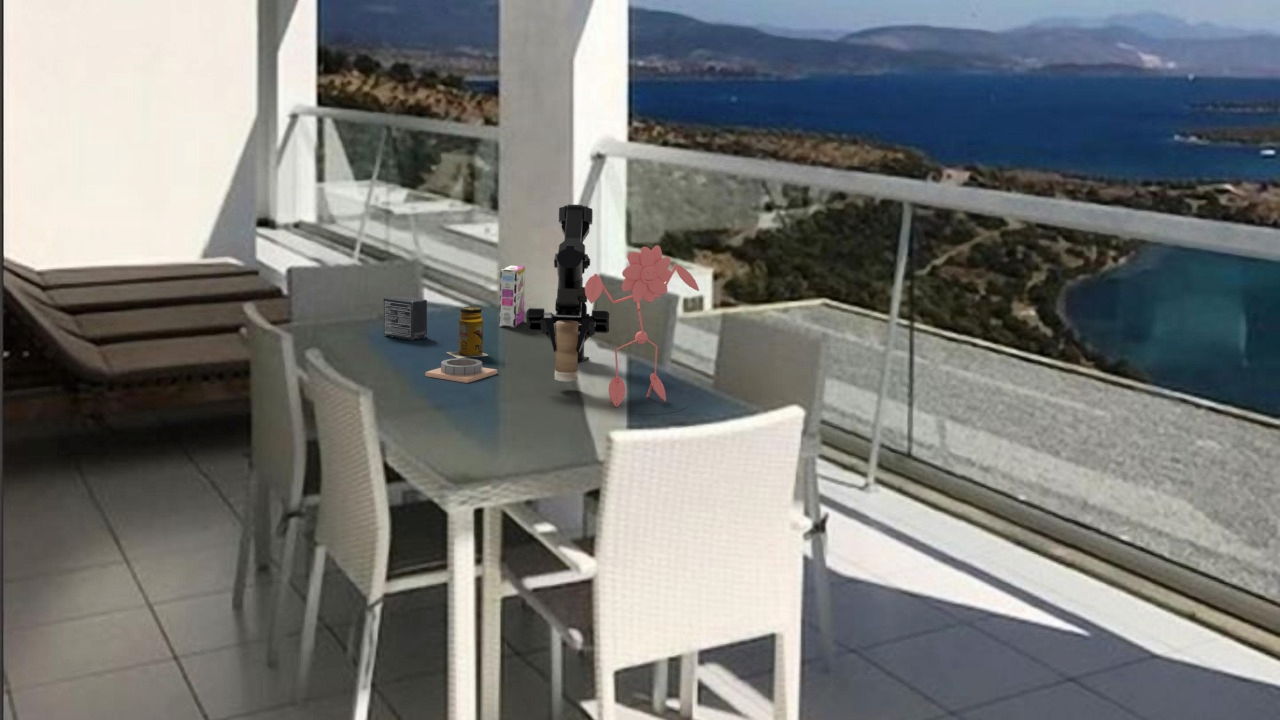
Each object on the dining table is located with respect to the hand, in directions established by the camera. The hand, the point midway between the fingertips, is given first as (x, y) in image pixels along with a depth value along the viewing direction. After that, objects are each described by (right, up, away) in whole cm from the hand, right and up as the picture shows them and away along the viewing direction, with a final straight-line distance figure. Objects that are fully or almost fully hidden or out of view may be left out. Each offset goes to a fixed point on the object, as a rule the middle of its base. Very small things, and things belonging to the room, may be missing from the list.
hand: (566, 351), depth 289 cm
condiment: (-27, -1, +38) cm, 47 cm away
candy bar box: (-20, +8, +81) cm, 84 cm away
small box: (-47, +4, +59) cm, 75 cm away
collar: (-26, -5, +15) cm, 30 cm away
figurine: (+17, -12, -10) cm, 23 cm away
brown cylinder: (0, -6, +3) cm, 7 cm away
